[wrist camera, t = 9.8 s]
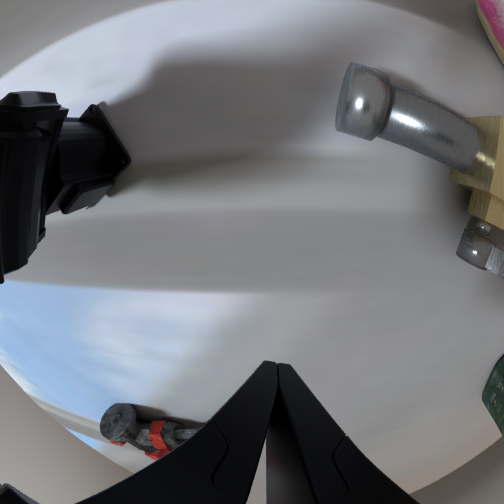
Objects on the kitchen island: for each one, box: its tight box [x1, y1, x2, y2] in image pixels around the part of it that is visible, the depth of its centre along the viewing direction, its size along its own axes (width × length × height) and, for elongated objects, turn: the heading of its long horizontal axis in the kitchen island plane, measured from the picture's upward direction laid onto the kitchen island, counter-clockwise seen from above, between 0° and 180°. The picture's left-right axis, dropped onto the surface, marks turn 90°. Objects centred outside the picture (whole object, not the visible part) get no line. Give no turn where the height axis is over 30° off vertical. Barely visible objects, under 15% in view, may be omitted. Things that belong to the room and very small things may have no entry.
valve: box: [100, 403, 200, 460], centre depth 29 cm, size 6×26×15 cm
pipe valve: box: [335, 62, 504, 236], centre depth 13 cm, size 18×8×5 cm, turn 79°
